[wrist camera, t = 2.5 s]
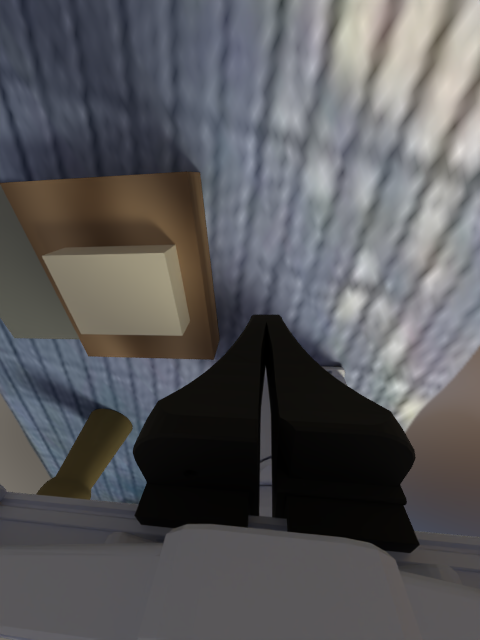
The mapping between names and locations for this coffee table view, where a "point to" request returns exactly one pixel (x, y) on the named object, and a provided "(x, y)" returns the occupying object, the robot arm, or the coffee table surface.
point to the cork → (89, 455)
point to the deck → (128, 244)
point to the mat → (27, 285)
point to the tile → (122, 289)
